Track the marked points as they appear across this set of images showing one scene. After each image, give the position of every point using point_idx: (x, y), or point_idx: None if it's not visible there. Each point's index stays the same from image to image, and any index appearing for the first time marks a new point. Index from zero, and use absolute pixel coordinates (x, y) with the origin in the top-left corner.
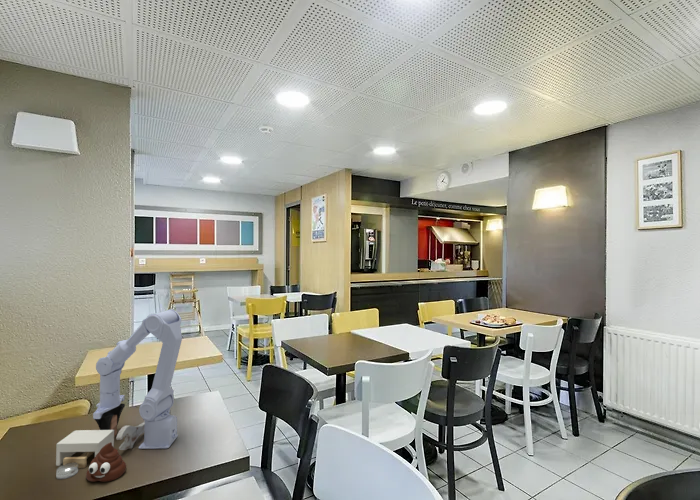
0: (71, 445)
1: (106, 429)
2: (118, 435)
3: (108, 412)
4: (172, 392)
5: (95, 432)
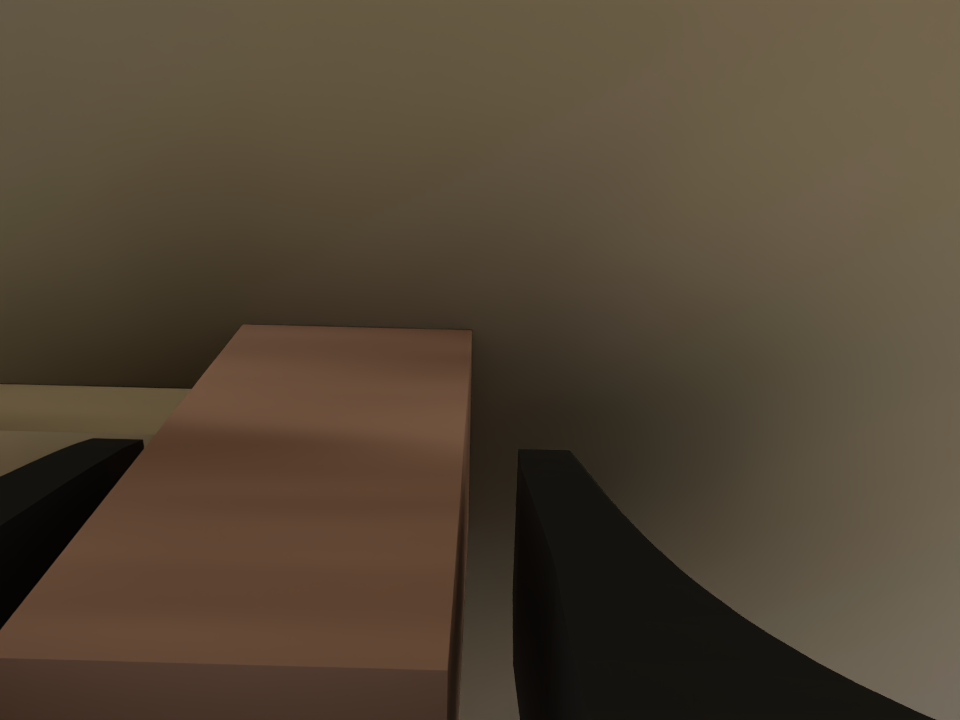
0: None
1: None
2: None
3: (567, 712)
4: None
5: None
